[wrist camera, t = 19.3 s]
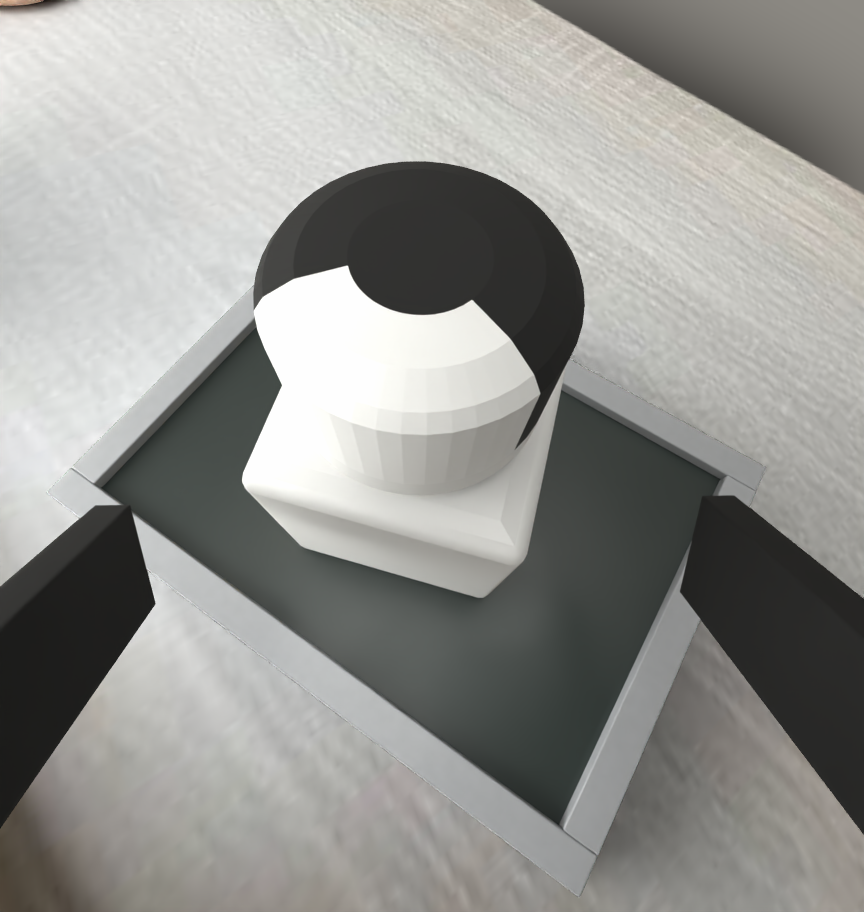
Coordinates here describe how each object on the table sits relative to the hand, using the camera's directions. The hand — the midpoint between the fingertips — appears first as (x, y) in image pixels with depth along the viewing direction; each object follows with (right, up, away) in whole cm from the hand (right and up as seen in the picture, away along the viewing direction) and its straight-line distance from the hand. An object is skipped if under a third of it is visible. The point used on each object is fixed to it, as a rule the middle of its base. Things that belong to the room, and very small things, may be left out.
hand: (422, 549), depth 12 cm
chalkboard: (0, +1, +9) cm, 9 cm away
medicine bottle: (0, +1, +8) cm, 8 cm away
